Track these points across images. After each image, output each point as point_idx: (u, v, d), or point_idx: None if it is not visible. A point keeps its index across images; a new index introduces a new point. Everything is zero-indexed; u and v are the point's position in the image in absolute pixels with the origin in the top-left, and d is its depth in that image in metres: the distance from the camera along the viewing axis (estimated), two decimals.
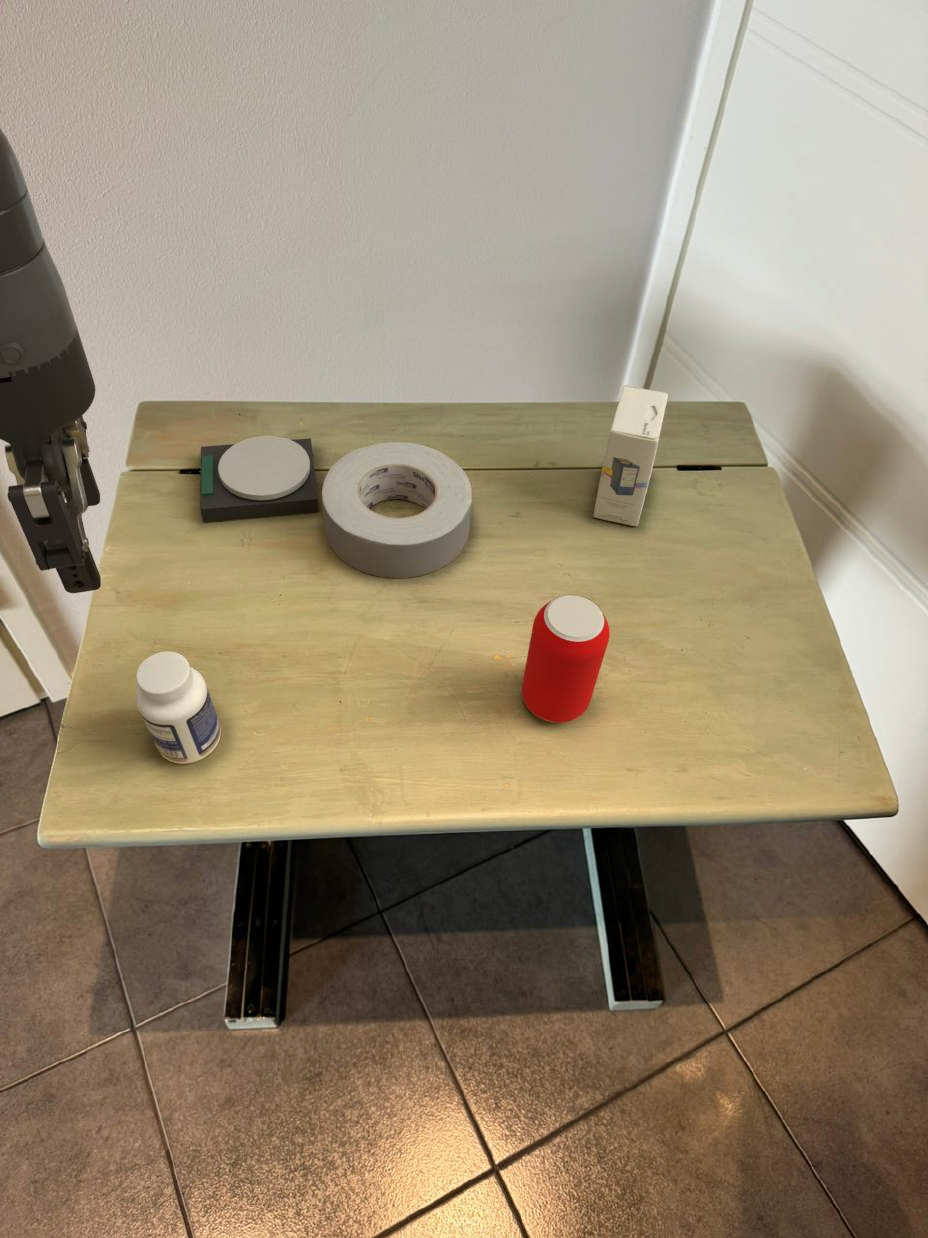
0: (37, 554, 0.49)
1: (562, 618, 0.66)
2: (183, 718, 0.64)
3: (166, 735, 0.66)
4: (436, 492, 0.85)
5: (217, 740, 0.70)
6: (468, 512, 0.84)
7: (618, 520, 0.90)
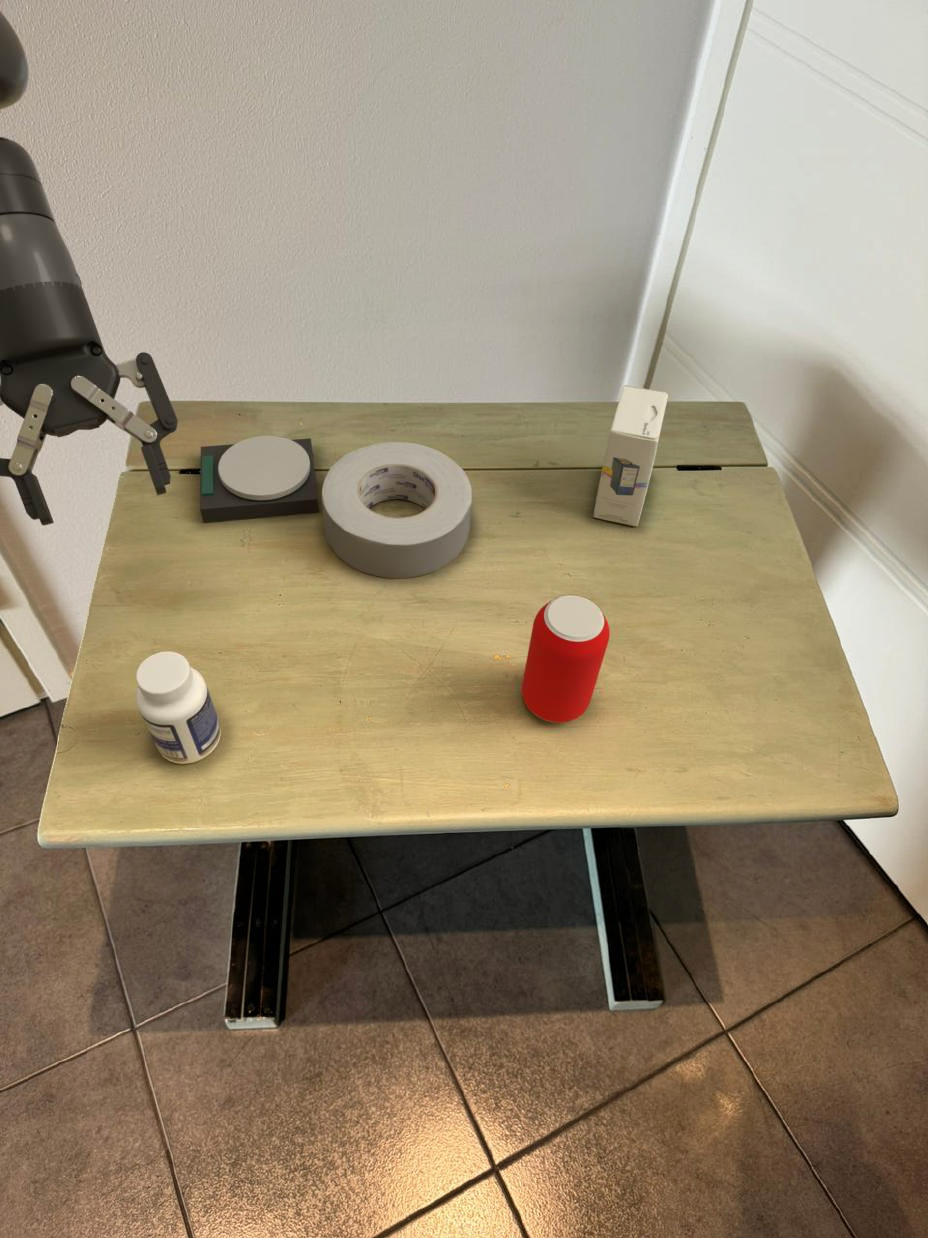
0: None
1: (562, 618, 0.66)
2: (183, 718, 0.64)
3: (166, 735, 0.66)
4: (436, 492, 0.85)
5: (217, 740, 0.70)
6: (468, 512, 0.84)
7: (618, 520, 0.90)
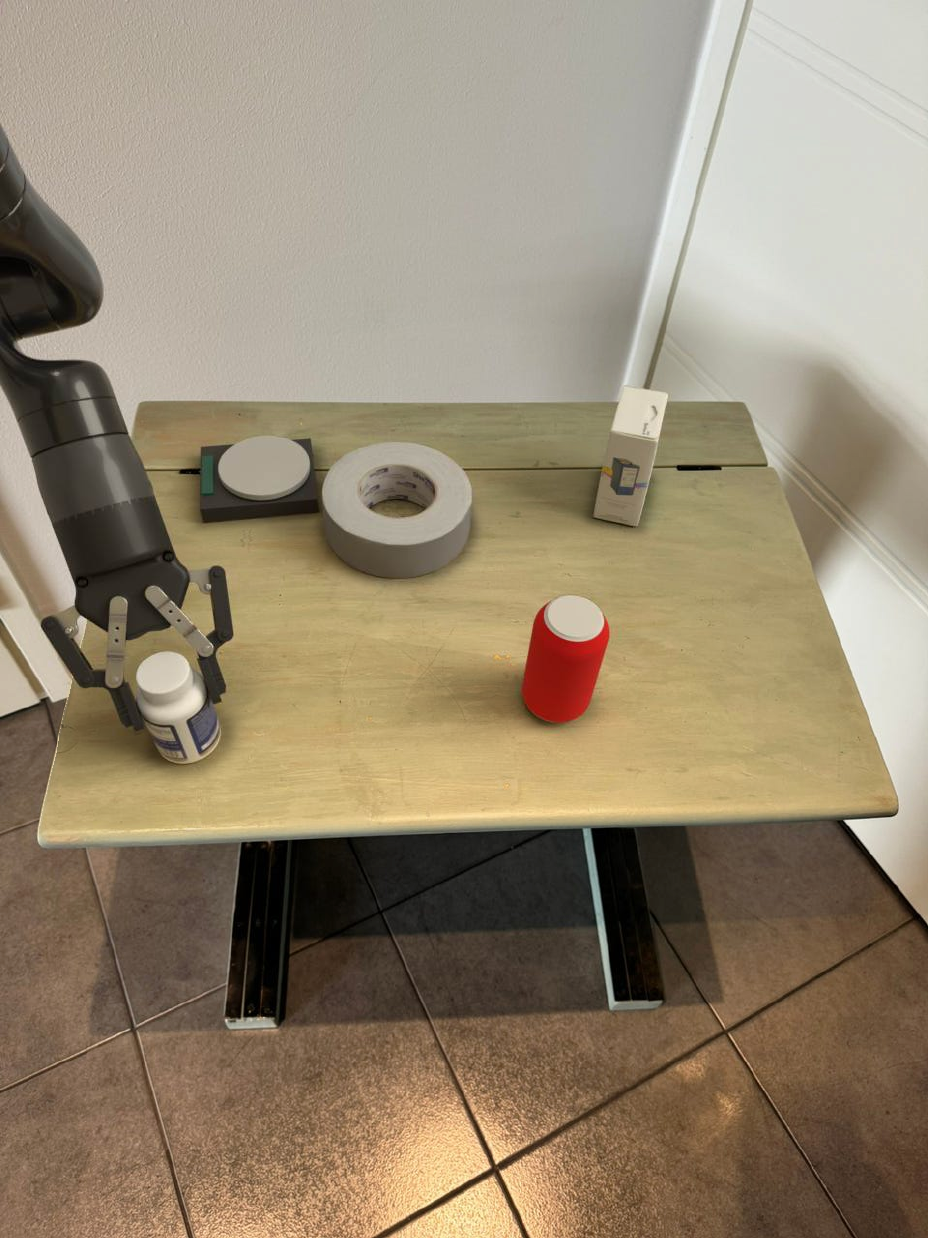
0: (231, 620, 0.65)
1: (562, 618, 0.66)
2: (183, 718, 0.64)
3: (166, 735, 0.66)
4: (436, 492, 0.85)
5: (217, 740, 0.70)
6: (468, 512, 0.84)
7: (618, 520, 0.90)
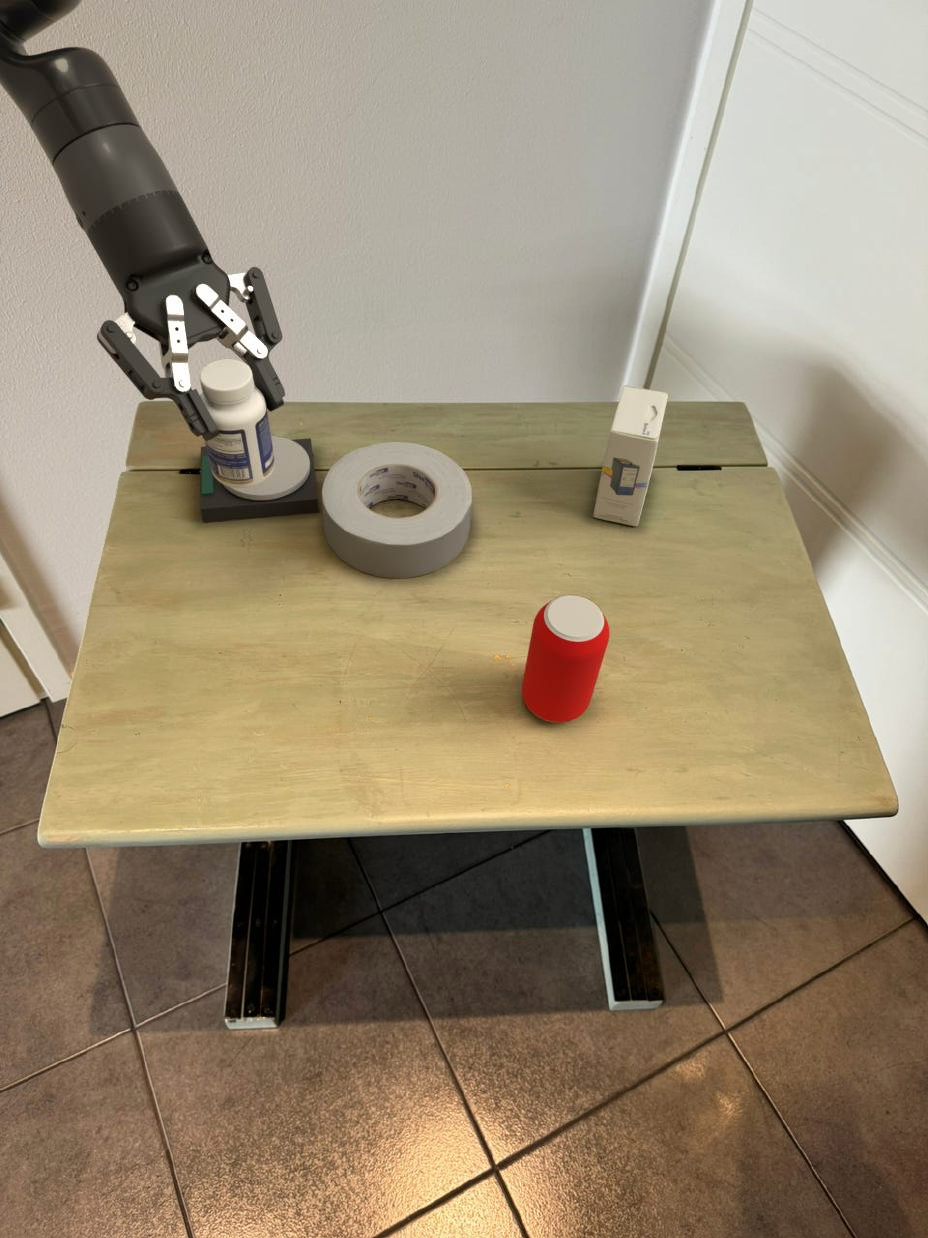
0: None
1: (562, 618, 0.66)
2: (253, 420, 0.66)
3: (236, 446, 0.67)
4: (436, 492, 0.85)
5: (274, 462, 0.72)
6: (468, 512, 0.84)
7: (618, 520, 0.90)
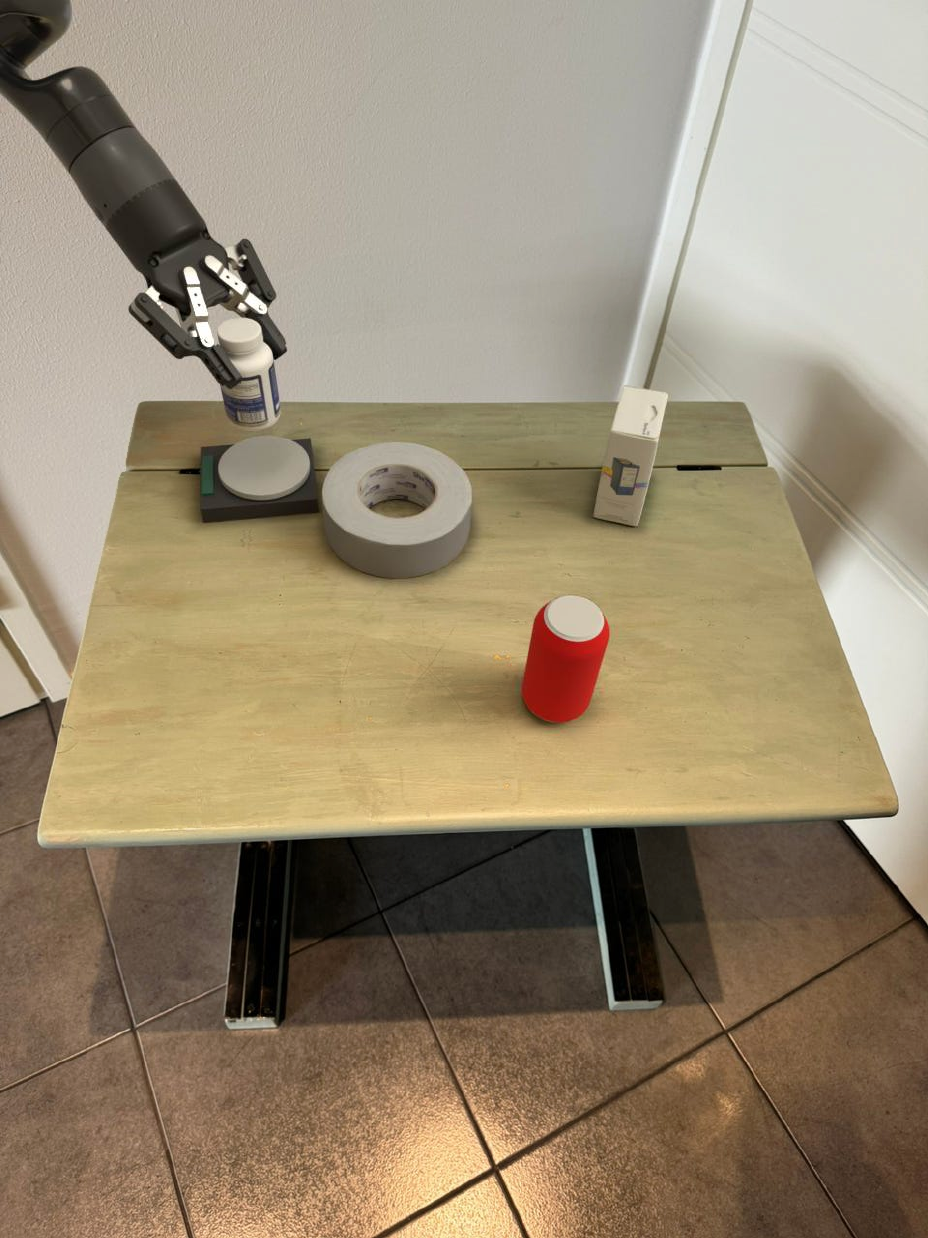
0: None
1: (562, 618, 0.66)
2: (266, 366, 0.78)
3: (254, 390, 0.79)
4: (436, 492, 0.85)
5: None
6: (468, 512, 0.84)
7: (618, 520, 0.90)
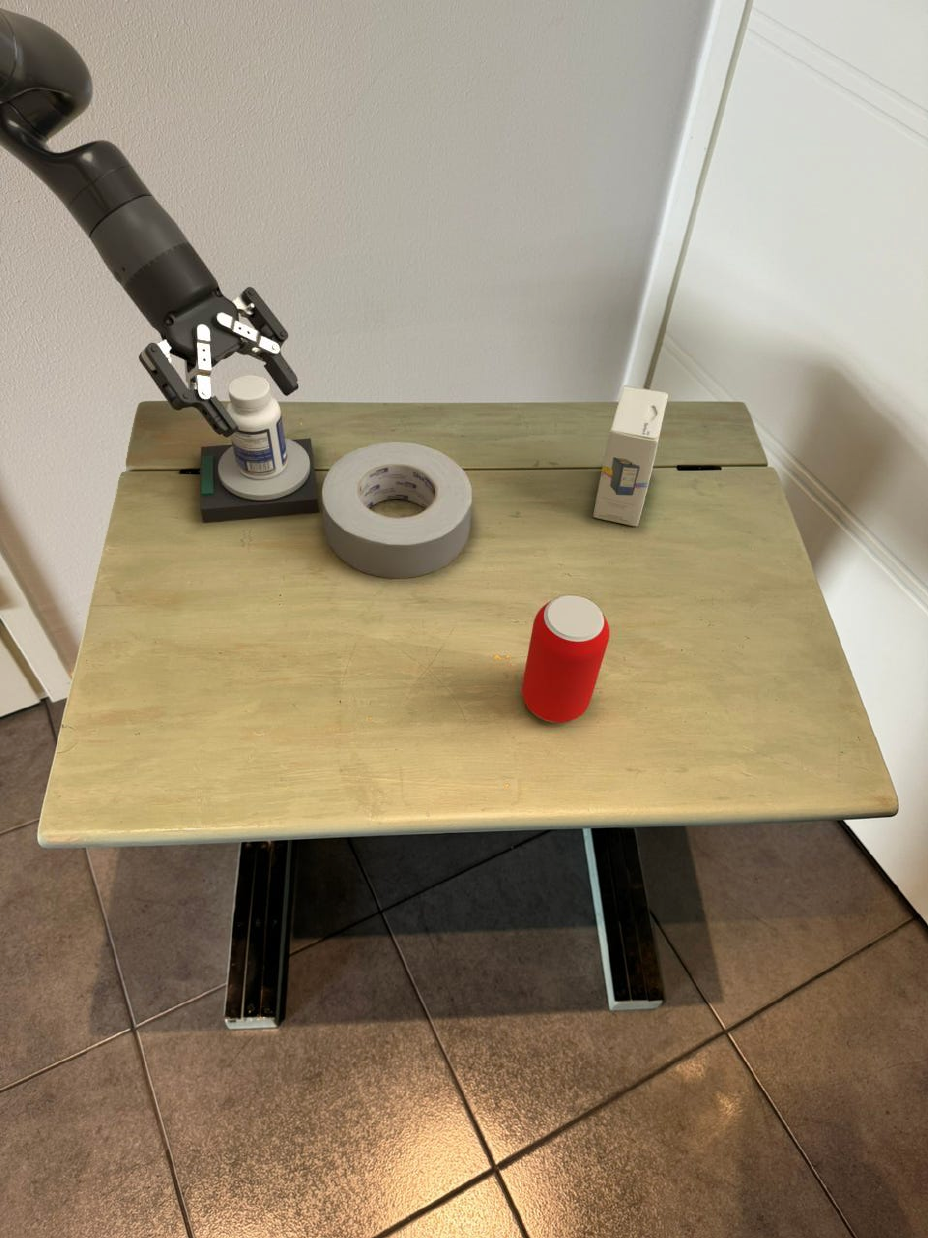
0: None
1: (562, 618, 0.66)
2: (274, 420, 0.83)
3: (263, 443, 0.84)
4: (436, 492, 0.85)
5: None
6: (468, 512, 0.84)
7: (618, 520, 0.90)
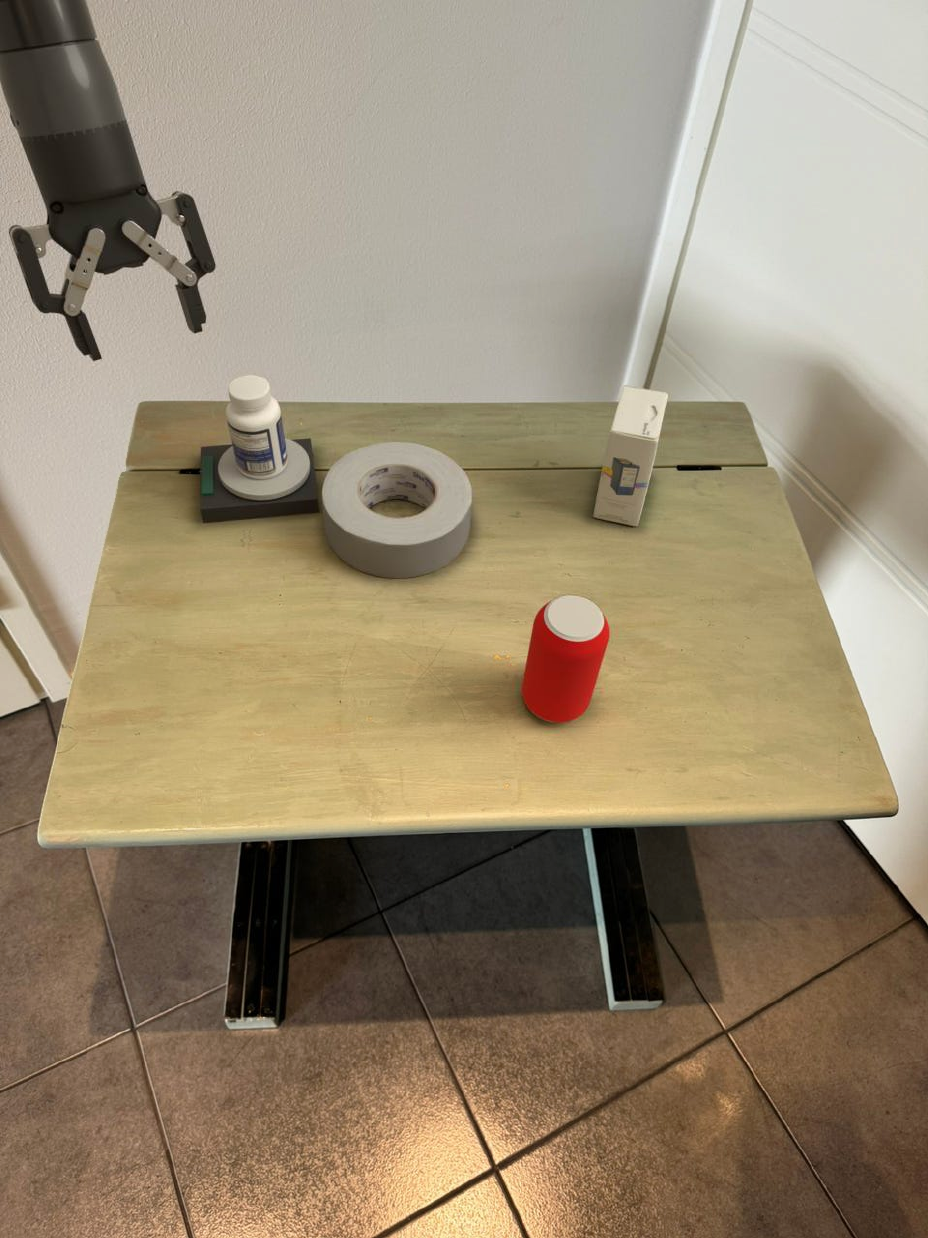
0: None
1: (562, 618, 0.66)
2: (274, 420, 0.83)
3: (263, 443, 0.84)
4: (436, 492, 0.85)
5: None
6: (468, 512, 0.84)
7: (618, 520, 0.90)
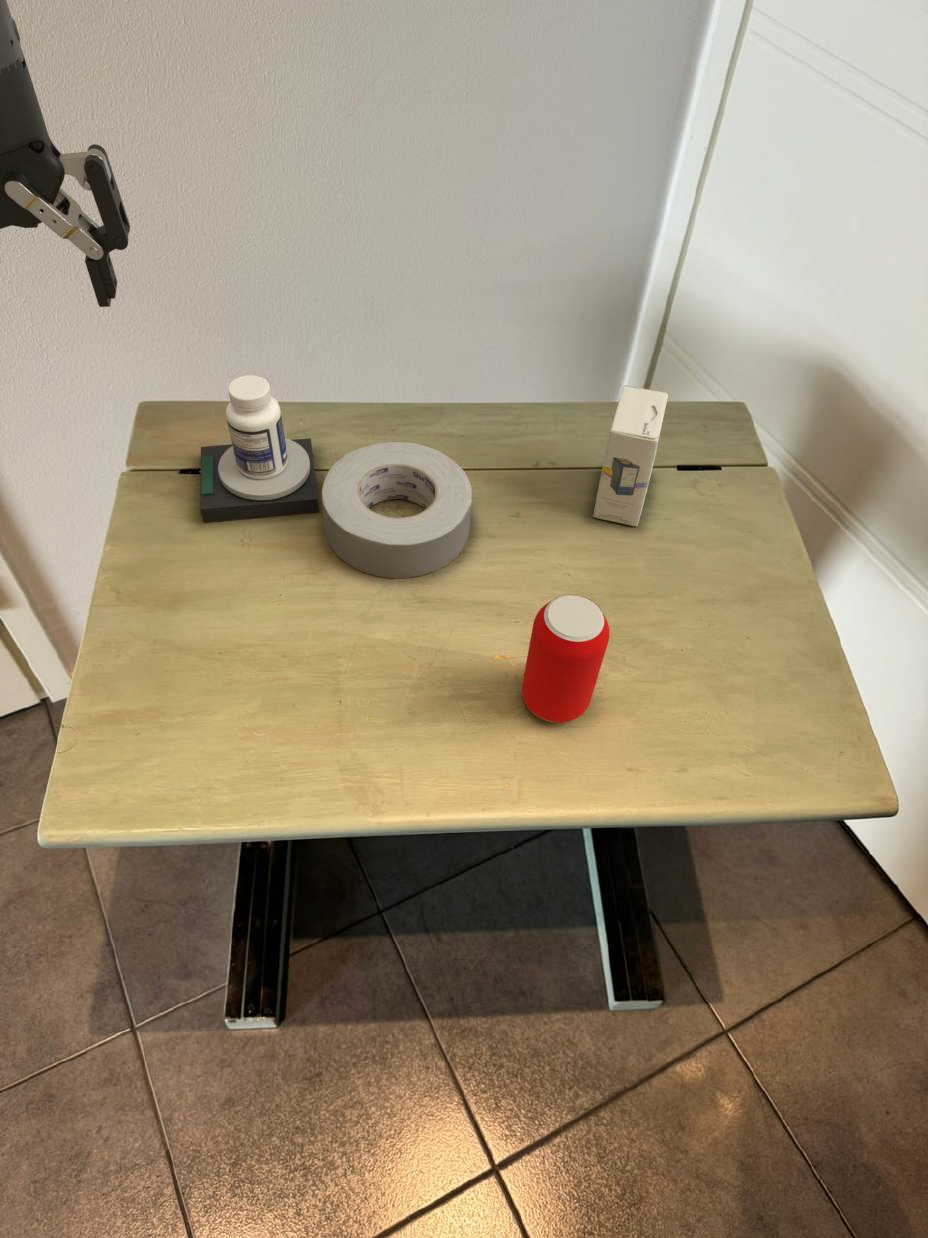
0: (123, 225, 0.57)
1: (562, 618, 0.66)
2: (274, 420, 0.83)
3: (263, 443, 0.84)
4: (436, 492, 0.85)
5: None
6: (468, 512, 0.84)
7: (618, 520, 0.90)
